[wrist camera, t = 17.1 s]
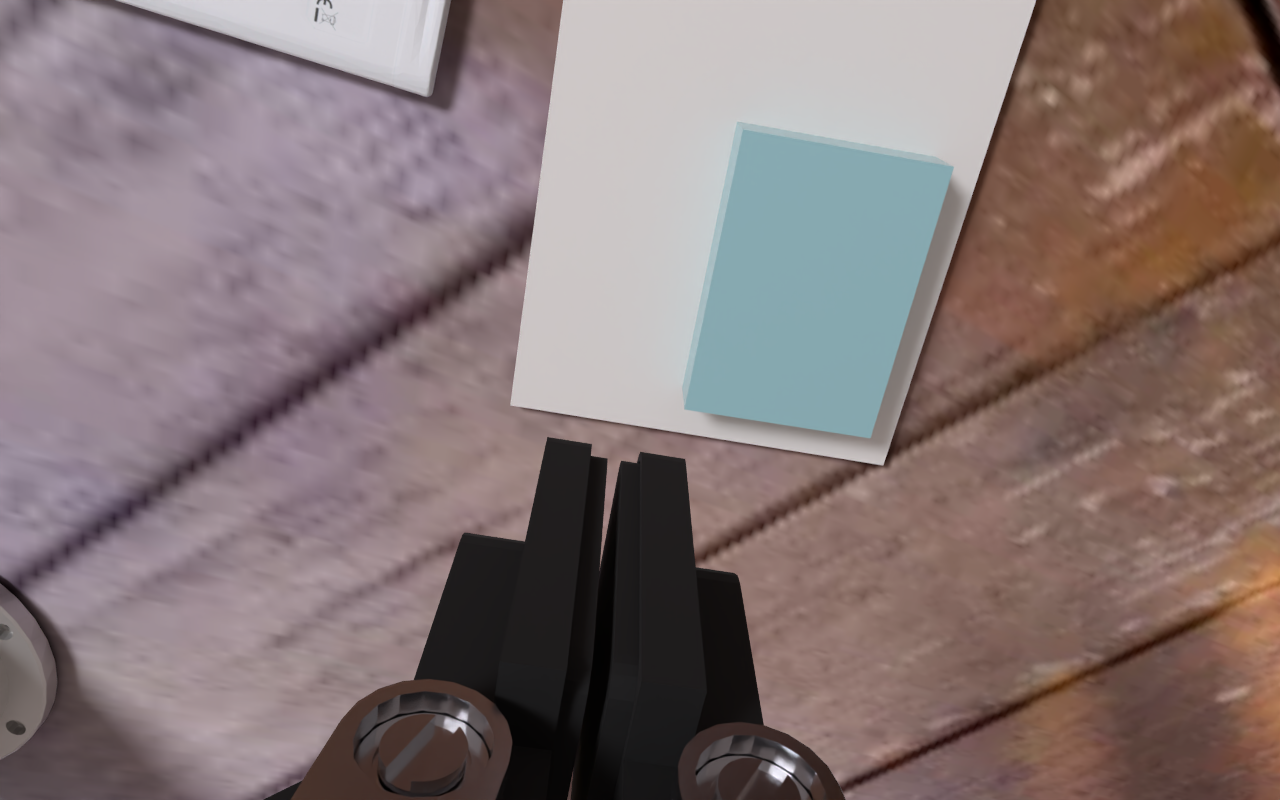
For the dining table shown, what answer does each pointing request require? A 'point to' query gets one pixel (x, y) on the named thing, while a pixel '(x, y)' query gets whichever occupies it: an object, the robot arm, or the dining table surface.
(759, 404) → the tile
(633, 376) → the mat
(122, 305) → the dining table surface
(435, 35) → the external hard drive
